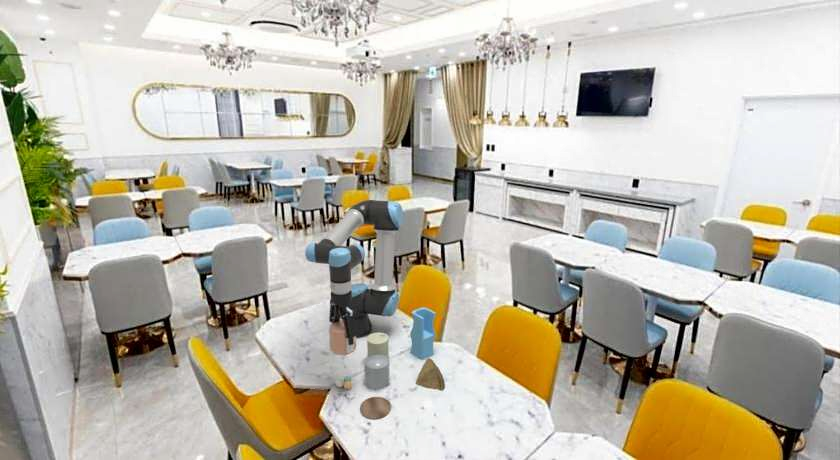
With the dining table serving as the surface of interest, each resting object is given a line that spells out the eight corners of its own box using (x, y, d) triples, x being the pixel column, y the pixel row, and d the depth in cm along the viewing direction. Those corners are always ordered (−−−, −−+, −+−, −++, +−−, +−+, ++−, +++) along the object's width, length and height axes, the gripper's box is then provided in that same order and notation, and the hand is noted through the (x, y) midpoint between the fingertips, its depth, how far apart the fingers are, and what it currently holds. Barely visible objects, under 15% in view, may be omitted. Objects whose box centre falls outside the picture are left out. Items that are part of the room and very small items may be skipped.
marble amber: (349, 384, 154) (348, 378, 154) (353, 388, 152) (352, 381, 151) (342, 388, 152) (342, 381, 152) (346, 391, 150) (346, 385, 149)
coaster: (379, 394, 149) (379, 392, 149) (397, 409, 141) (397, 408, 141) (354, 406, 142) (354, 405, 142) (371, 424, 134) (371, 422, 134)
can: (393, 361, 170) (393, 336, 166) (377, 371, 163) (376, 345, 160) (379, 353, 176) (378, 329, 173) (362, 362, 169) (362, 337, 166)
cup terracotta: (347, 339, 156) (347, 317, 153) (360, 349, 149) (359, 326, 147) (326, 347, 150) (325, 325, 148) (338, 358, 143) (337, 335, 141)
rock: (452, 381, 154) (437, 365, 161) (444, 371, 148) (428, 356, 156) (433, 402, 151) (418, 385, 159) (424, 393, 146) (409, 377, 153)
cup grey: (380, 372, 163) (379, 352, 160) (393, 383, 156) (393, 362, 153) (361, 380, 157) (360, 360, 154) (374, 392, 150) (373, 371, 148)
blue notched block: (421, 360, 171) (422, 318, 166) (410, 352, 176) (410, 311, 171) (435, 353, 176) (436, 312, 171) (423, 346, 182) (423, 306, 176)
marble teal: (349, 379, 158) (348, 372, 157) (353, 383, 155) (352, 376, 155) (342, 382, 156) (342, 375, 155) (346, 386, 154) (346, 379, 153)
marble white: (341, 382, 155) (341, 376, 155) (345, 386, 153) (344, 379, 152) (334, 385, 154) (334, 379, 153) (338, 389, 151) (338, 383, 151)
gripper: (317, 284, 149) (320, 337, 155) (347, 303, 133) (349, 362, 139) (335, 279, 154) (338, 331, 160) (366, 297, 138) (367, 354, 144)
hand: (343, 345), depth 149 cm, fingers closed on cup terracotta, 9 cm apart
